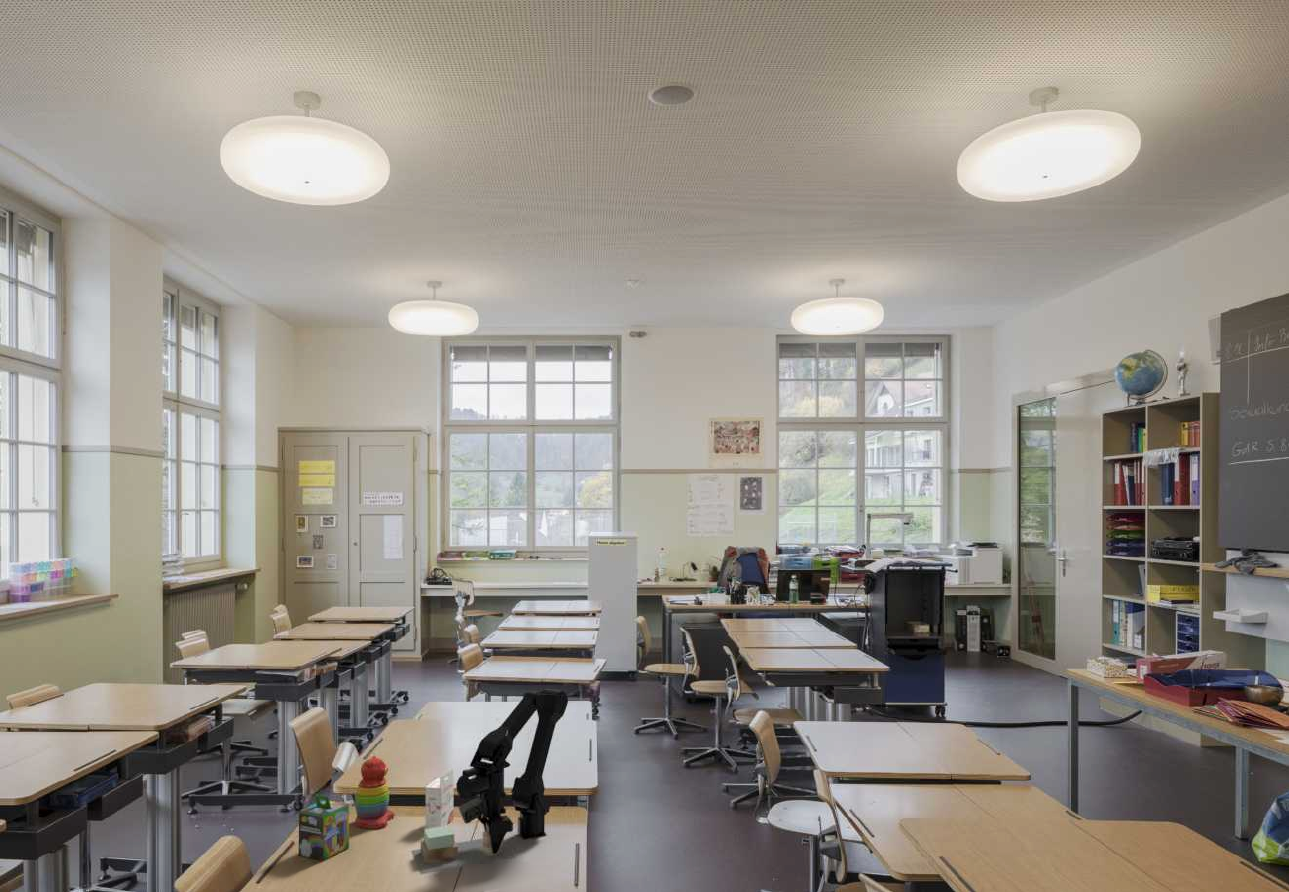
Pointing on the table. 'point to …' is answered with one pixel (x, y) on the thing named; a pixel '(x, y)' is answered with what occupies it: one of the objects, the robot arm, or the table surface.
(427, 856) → the walnut base block
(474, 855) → the rubber mat
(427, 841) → the sage top block
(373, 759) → the stacking bear
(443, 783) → the ink cartridge box
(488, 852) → the maple cylinder
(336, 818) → the chalk box
